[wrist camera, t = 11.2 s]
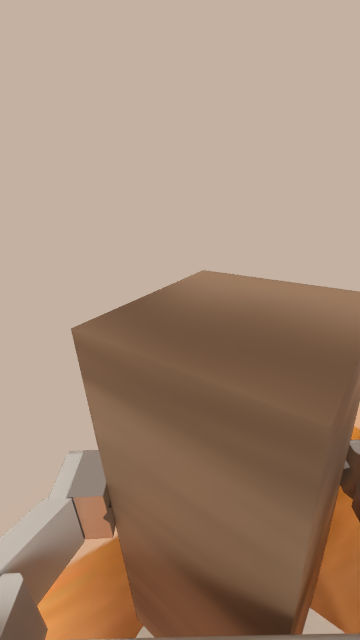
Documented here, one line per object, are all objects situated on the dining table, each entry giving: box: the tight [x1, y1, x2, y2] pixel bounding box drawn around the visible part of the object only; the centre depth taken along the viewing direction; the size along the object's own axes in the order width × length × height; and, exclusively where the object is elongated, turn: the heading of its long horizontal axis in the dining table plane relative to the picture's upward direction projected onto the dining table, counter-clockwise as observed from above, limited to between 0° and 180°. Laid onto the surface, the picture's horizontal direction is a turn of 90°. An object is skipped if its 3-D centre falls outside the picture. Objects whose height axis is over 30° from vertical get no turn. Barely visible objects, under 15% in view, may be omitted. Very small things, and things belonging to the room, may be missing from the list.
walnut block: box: [71, 271, 360, 638], centre depth 9 cm, size 5×5×12 cm
